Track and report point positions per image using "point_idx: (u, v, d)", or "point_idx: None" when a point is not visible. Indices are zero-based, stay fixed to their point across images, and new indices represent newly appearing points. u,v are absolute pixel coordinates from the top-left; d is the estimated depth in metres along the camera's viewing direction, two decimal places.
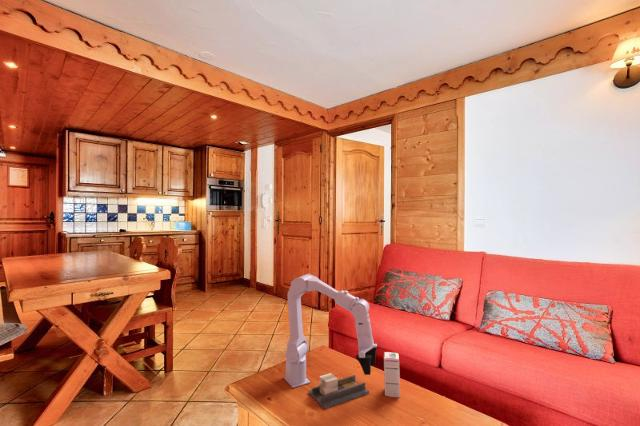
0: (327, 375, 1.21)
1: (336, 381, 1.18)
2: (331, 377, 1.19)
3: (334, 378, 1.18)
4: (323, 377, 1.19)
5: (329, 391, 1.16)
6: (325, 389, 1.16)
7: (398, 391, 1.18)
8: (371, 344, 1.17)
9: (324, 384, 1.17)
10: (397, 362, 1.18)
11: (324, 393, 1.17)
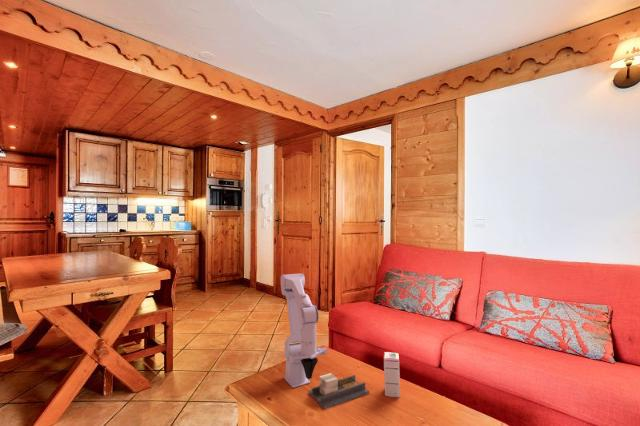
0: (327, 375, 1.21)
1: (336, 381, 1.18)
2: (331, 377, 1.19)
3: (334, 378, 1.18)
4: (323, 377, 1.19)
5: (329, 391, 1.16)
6: (325, 389, 1.16)
7: (398, 391, 1.18)
8: (308, 354, 1.12)
9: (324, 384, 1.17)
10: (397, 362, 1.18)
11: (324, 393, 1.17)
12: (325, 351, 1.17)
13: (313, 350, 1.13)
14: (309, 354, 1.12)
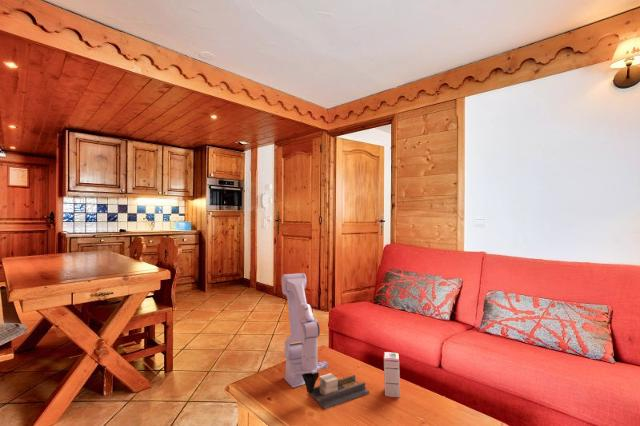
0: (327, 375, 1.21)
1: (336, 381, 1.18)
2: (331, 377, 1.19)
3: (334, 378, 1.18)
4: (323, 377, 1.19)
5: (329, 391, 1.16)
6: (325, 389, 1.16)
7: (398, 391, 1.18)
8: (309, 368, 1.12)
9: (324, 384, 1.17)
10: (397, 362, 1.18)
11: (324, 393, 1.17)
12: (326, 365, 1.17)
13: (314, 365, 1.13)
14: (310, 369, 1.12)
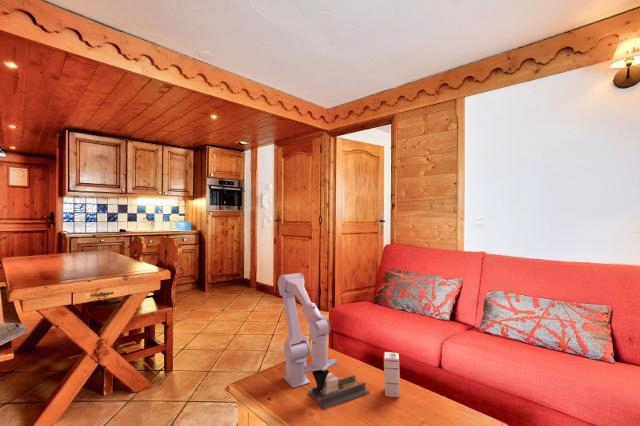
0: (328, 375, 1.21)
1: (337, 381, 1.18)
2: (332, 377, 1.19)
3: (335, 378, 1.18)
4: None
5: (330, 391, 1.16)
6: (326, 389, 1.16)
7: (398, 391, 1.18)
8: (319, 366, 1.14)
9: (324, 384, 1.17)
10: (397, 362, 1.18)
11: (325, 393, 1.17)
12: (336, 363, 1.20)
13: (324, 362, 1.15)
14: (320, 366, 1.14)
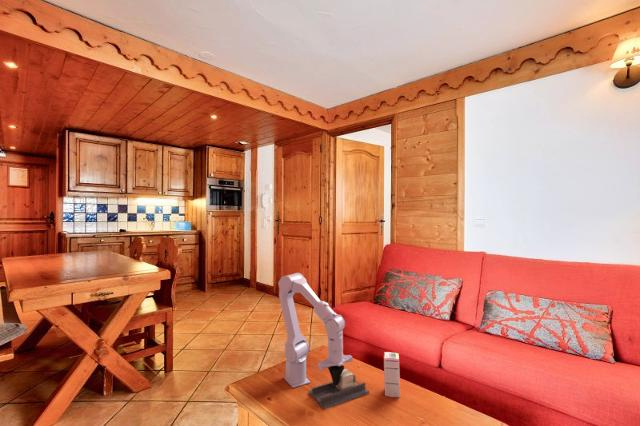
0: (343, 370, 1.24)
1: (352, 377, 1.21)
2: (347, 372, 1.22)
3: (350, 373, 1.22)
4: None
5: (345, 386, 1.20)
6: (341, 384, 1.20)
7: (398, 391, 1.18)
8: (336, 361, 1.18)
9: (340, 379, 1.20)
10: (397, 362, 1.18)
11: (340, 388, 1.20)
12: (351, 358, 1.23)
13: (340, 358, 1.19)
14: (336, 362, 1.18)
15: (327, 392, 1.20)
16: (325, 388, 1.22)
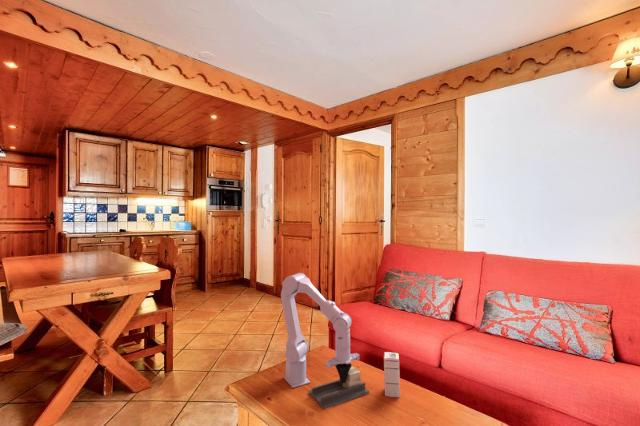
0: (350, 368, 1.26)
1: (359, 374, 1.23)
2: (354, 370, 1.24)
3: (357, 371, 1.23)
4: None
5: (352, 384, 1.21)
6: (349, 382, 1.21)
7: (398, 391, 1.18)
8: (343, 359, 1.19)
9: (347, 377, 1.22)
10: (397, 362, 1.18)
11: (347, 385, 1.22)
12: (358, 357, 1.25)
13: (348, 356, 1.20)
14: (344, 360, 1.20)
15: (327, 392, 1.20)
16: (325, 388, 1.22)
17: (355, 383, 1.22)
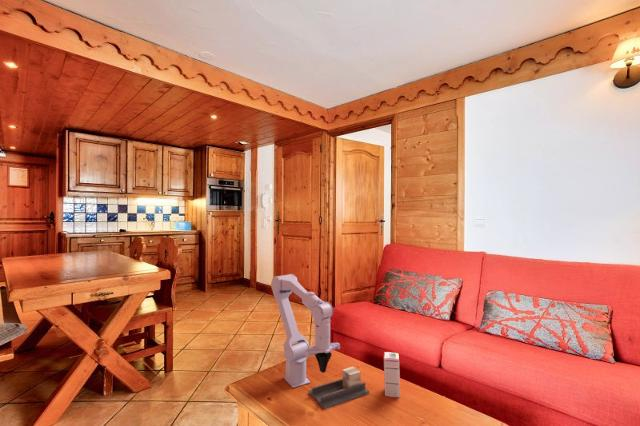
0: (350, 368, 1.26)
1: (359, 374, 1.23)
2: (354, 370, 1.24)
3: (357, 371, 1.23)
4: (346, 370, 1.24)
5: (352, 384, 1.21)
6: (349, 382, 1.21)
7: (398, 391, 1.18)
8: (323, 348, 1.17)
9: (347, 376, 1.22)
10: (397, 362, 1.18)
11: (347, 385, 1.22)
12: (338, 346, 1.22)
13: (327, 345, 1.17)
14: (324, 349, 1.17)
15: (327, 392, 1.20)
16: (325, 388, 1.22)
17: (355, 383, 1.22)
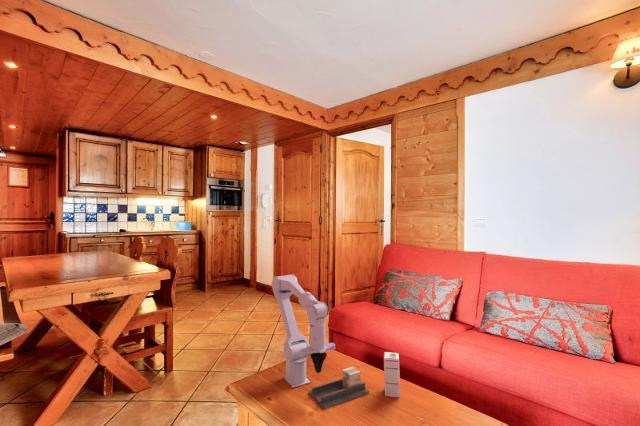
0: (350, 368, 1.26)
1: (359, 374, 1.23)
2: (354, 370, 1.24)
3: (357, 371, 1.23)
4: (346, 370, 1.24)
5: (352, 384, 1.21)
6: (349, 382, 1.21)
7: (398, 391, 1.18)
8: (318, 348, 1.16)
9: (347, 376, 1.22)
10: (397, 362, 1.18)
11: (347, 385, 1.22)
12: (334, 346, 1.22)
13: (322, 345, 1.17)
14: (318, 349, 1.16)
15: (327, 392, 1.20)
16: (325, 388, 1.22)
17: (355, 383, 1.22)
